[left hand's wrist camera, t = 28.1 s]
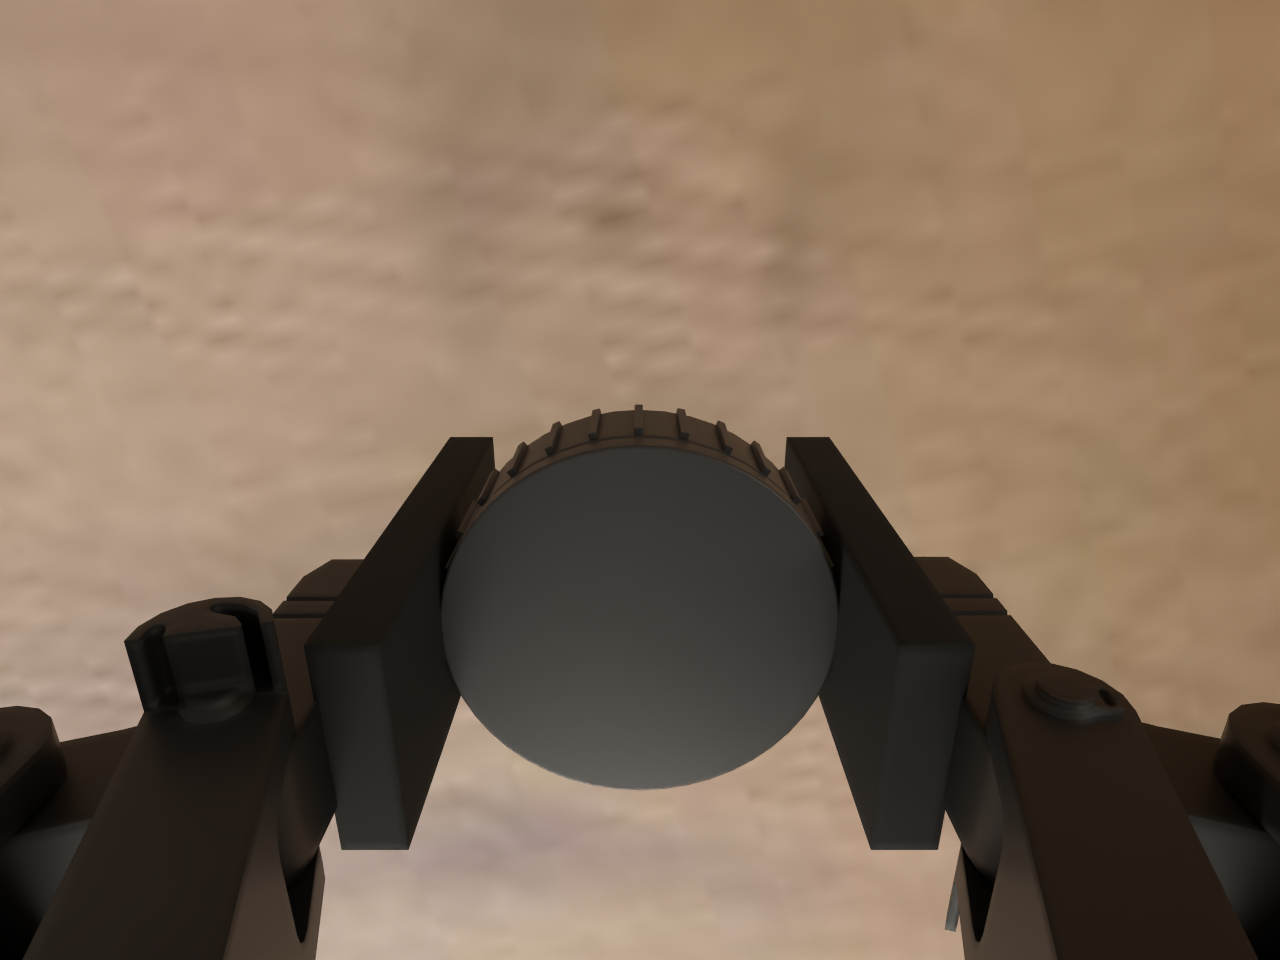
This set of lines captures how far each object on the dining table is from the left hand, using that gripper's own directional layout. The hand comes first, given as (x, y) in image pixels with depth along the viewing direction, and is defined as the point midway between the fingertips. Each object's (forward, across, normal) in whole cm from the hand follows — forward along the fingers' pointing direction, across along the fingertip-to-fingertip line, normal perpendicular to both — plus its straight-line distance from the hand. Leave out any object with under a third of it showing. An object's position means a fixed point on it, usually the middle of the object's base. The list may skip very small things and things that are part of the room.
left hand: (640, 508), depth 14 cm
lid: (-4, 0, 0) cm, 4 cm away
